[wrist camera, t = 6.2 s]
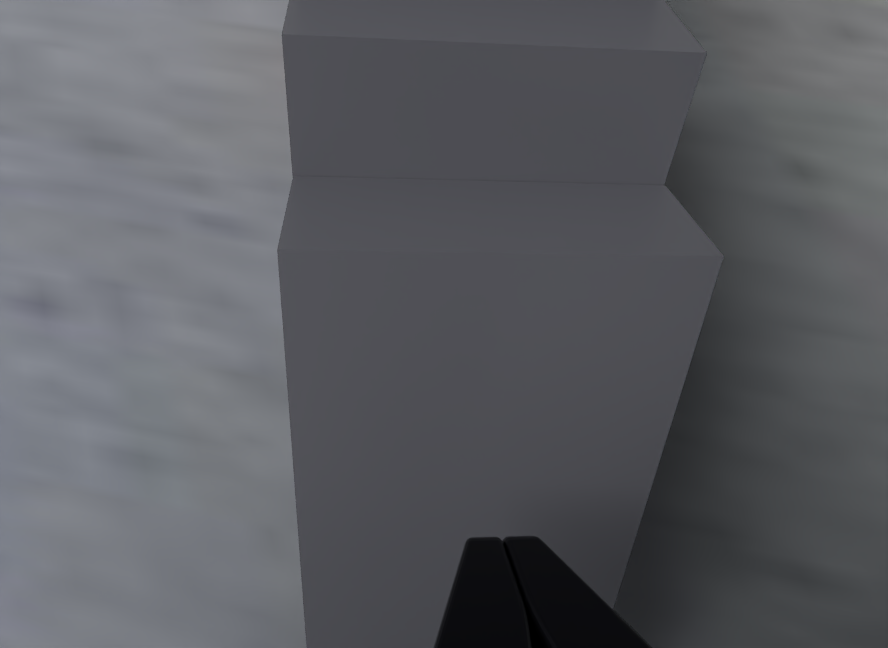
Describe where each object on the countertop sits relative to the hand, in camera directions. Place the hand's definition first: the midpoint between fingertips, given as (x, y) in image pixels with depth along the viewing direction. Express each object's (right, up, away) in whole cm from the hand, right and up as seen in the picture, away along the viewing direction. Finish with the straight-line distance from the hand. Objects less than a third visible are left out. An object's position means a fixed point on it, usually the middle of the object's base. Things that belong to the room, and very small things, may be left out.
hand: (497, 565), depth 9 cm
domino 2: (-1, -4, +6) cm, 7 cm away
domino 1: (-1, -1, +7) cm, 7 cm away
